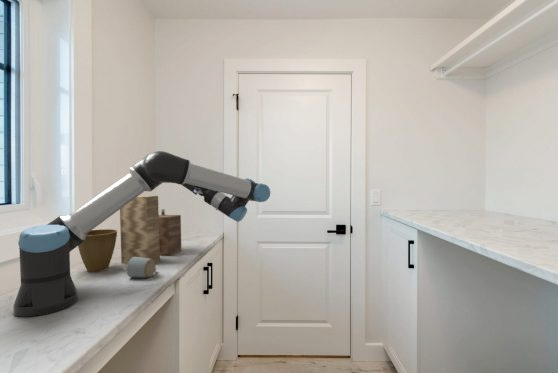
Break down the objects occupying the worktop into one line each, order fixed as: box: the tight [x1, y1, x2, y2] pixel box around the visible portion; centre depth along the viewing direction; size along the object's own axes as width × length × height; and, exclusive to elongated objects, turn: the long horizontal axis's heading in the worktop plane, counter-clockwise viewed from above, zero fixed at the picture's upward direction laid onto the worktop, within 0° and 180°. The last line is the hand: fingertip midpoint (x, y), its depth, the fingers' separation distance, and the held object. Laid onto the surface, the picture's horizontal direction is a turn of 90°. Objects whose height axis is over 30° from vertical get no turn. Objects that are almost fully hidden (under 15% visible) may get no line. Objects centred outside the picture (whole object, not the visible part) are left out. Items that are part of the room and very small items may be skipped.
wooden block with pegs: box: [159, 208, 182, 257], centre depth 151 cm, size 16×11×22 cm, turn 77°
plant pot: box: [77, 228, 118, 273], centre depth 124 cm, size 15×15×16 cm
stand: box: [119, 195, 161, 265], centre depth 135 cm, size 14×8×30 cm, turn 77°
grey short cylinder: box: [126, 257, 157, 279], centre depth 115 cm, size 11×8×8 cm
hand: (175, 173), depth 139 cm, fingers closed on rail, 4 cm apart
